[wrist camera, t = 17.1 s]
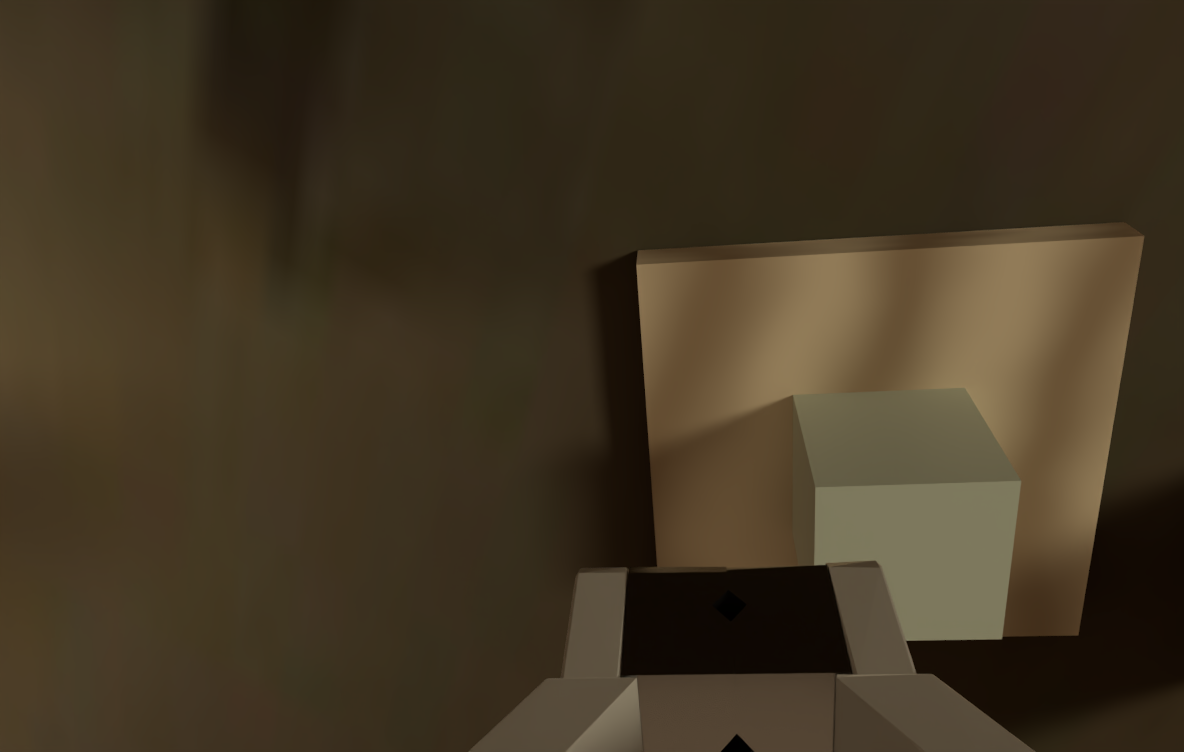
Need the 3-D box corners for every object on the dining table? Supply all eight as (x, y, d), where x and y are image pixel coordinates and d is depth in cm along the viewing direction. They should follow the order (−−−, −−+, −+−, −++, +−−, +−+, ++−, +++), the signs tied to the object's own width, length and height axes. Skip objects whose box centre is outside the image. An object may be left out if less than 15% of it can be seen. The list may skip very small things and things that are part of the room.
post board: (1124, 222, 32) (1220, 288, 26) (1064, 609, 39) (1129, 728, 33) (637, 250, 33) (630, 318, 28) (662, 617, 40) (661, 731, 35)
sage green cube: (964, 387, 33) (1021, 480, 28) (952, 528, 36) (1001, 639, 30) (792, 394, 34) (815, 487, 28) (792, 532, 36) (813, 642, 31)
